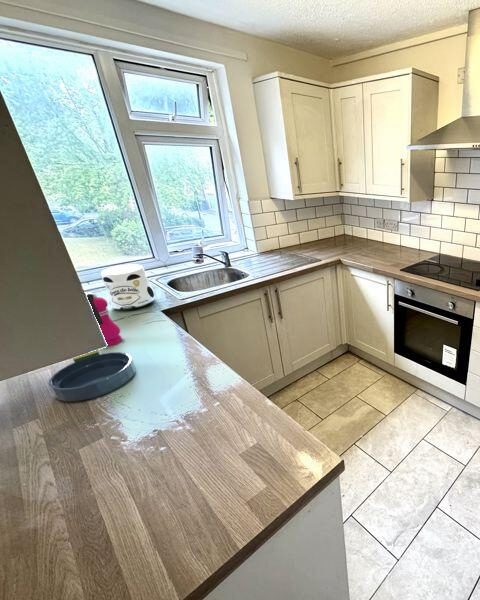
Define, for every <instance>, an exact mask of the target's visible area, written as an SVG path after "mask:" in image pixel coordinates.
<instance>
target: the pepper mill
mask: <svg viewBox="0 0 480 600" xmlns="http://www.w3.org/2000/svg"><path fill="white" fill-rule="evenodd" d="M92 294H93V296H94V299H93V302H94V304H95V306H96V308H97V310H98V312H99V315H100V317H101V319H102V321H103V324H102V325H100V328H101V330H102V333H103V335H104V337H105V340H106V342H107V344H108V346H107V347H112V346H115V345H118V344H120V343H121V342H122V341H123V338H122V336H121V334H120V333H121V329H120V327H119V326H118V324H117V323H115V322H114V321H113V320H112V318H111V317H110V316H109V312H110V311H109V308H108V305H109V302H108V300H106V299H105V298H104V297H99V296H97V294H95V293H92Z"/></svg>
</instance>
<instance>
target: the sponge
mask: <svg viewBox="0 0 480 600" xmlns="http://www.w3.org/2000/svg"><path fill="white" fill-rule="evenodd" d="M99 352H100V351H99V349H97V350H96V351H93V352H90V353H87V354H85V355H82V356H79V357H76V358H72V359H73V363H74V362H75V363H76V362H79V361H82V360H85V359H88V358H92V357H95V356H98V355H99V354H100V353H99Z"/></svg>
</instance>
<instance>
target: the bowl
mask: <svg viewBox="0 0 480 600" xmlns="http://www.w3.org/2000/svg"><path fill="white" fill-rule="evenodd" d="M135 373H136V366H135V364H134V360H133V358H132V356H131V354H129V353H126V352H120V351H117V352H116V351H114V352H104V353H99V355H98V356H95V357H92V358H88V359H85V360H82V361H79V362H76V363H75V362H74V361H73V362H72V363H70V364H68V365H66V366H65V367H64V366H63V367H62V368H61V369H59V370H57V371H56V372H55V373H54V374H53V375H52V376H51V377H50V378H49V380H48V386H49V388H50V390H51V392H52V395H54V398H55V399H57V400H58V401H64V402H81V401H86V400H91V399H96V398H99V397H101V396H104V395H106V394H109V393H111V392H113V391H115V390H117V389H119V388H121V387H122V386H124V385H125V384H126V383H127V382H129V381H130V380H131V379H132V378H133V376H134V375H135Z"/></svg>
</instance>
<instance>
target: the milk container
mask: <svg viewBox="0 0 480 600" xmlns="http://www.w3.org/2000/svg"><path fill="white" fill-rule="evenodd" d="M100 276H101V280H102V281H103V285H104V286H105V289H106V293H107V296H106V297H107V303H108V305H110V307H111V308H113V309H114V310H119V311H128V310H129V311H130V310H135V309H140V308H142V307H146V306H147V305H150V304H151V303H152V302H153V301H155V299H156V298H155V297H156V293H155V291H154V288H153V287H152V285H151V284H150V283H149V280H148V276H147V274H146V270H145V268H144V267H143V265H142V264H122V265H117V266H113V267H109V268H106V269H103V270H102V271H101V272H100Z"/></svg>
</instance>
